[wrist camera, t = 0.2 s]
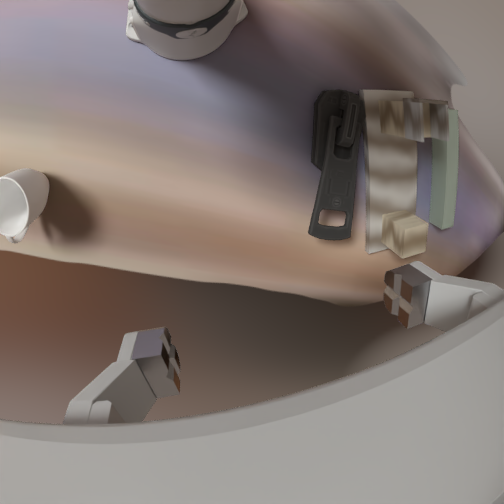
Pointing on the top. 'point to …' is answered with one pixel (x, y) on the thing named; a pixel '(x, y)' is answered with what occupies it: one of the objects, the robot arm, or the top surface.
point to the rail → (445, 176)
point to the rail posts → (397, 166)
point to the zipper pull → (336, 158)
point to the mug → (21, 201)
